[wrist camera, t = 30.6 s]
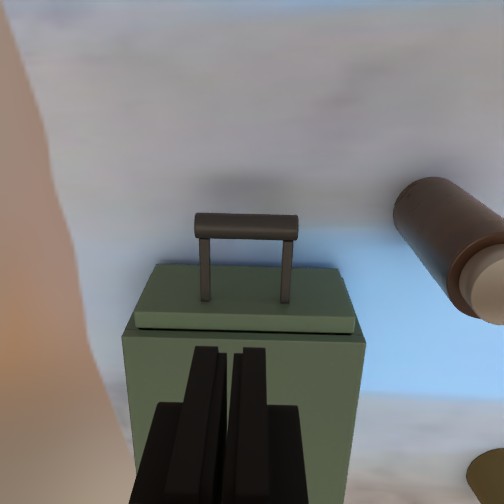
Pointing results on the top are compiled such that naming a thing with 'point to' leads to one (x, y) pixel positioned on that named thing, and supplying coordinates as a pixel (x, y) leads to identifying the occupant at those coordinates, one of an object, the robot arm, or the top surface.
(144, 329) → the cabinet
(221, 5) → the top surface
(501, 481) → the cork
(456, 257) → the pepper mill
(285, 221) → the drawer
